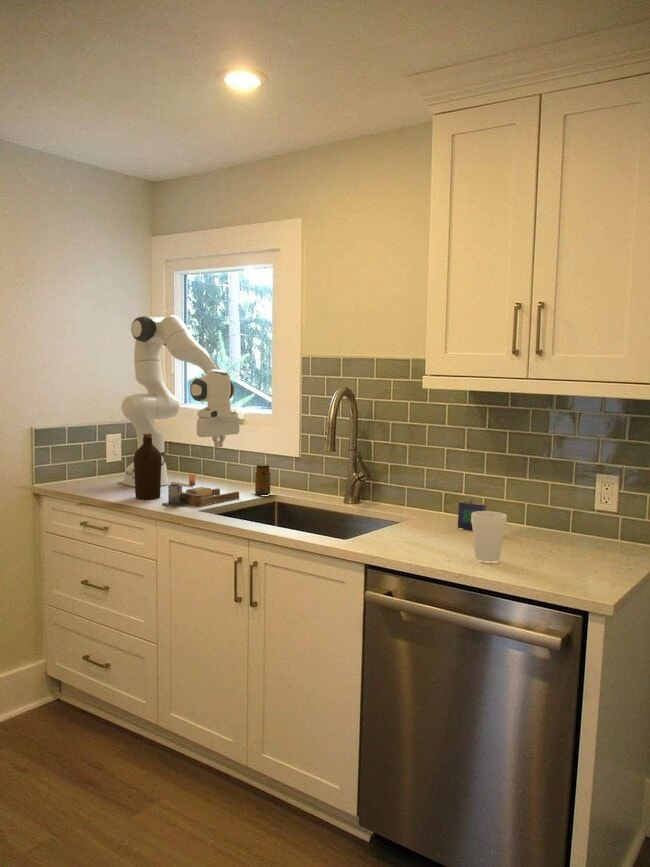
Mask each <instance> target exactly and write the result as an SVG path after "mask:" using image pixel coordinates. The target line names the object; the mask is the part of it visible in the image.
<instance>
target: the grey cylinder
mask: <svg viewBox="0 0 650 867" xmlns="http://www.w3.org/2000/svg"><path fill="white" fill-rule="evenodd" d="M167 486H168V498H167V499H168V501H166V502H162V506H164V505H165V506H166V507H169V506H170V507H169V508H174V507H177V508H181V507H180V506H182V507H185V505H187V506H189V505H188V503H185V502H182V500H183V498H182V492H183V486H179V485H171V484H167ZM165 506H164V507H165Z"/></svg>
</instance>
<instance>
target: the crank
mask: <svg viewBox="0 0 650 867" xmlns="http://www.w3.org/2000/svg"><path fill="white" fill-rule="evenodd" d="M170 485H179V486H182V487H185V488H186V487H187V488H194V486H196V473H189V474H188V483H184V482H180V481H178V480H177V481H175V480H174V481H170Z"/></svg>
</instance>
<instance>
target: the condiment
mask: <svg viewBox="0 0 650 867" xmlns="http://www.w3.org/2000/svg"><path fill="white" fill-rule="evenodd" d="M270 467H271V466H270V465H269V464H264V463H263V464H257V465H256V471H255V477H254V478H255V484H254V486H255V487H254V491H255V492H252V493H250V494H251V495H253V496H258V495H268V494H271V472H270ZM255 494H256V495H255Z"/></svg>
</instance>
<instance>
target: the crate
mask: <svg viewBox="0 0 650 867" xmlns="http://www.w3.org/2000/svg"><path fill="white" fill-rule="evenodd" d="M212 489H213V488H211V487H204V486H200V487H199V486H198V487H191V488H188V489H185V493H191V494H196V495H201V498H205V497H210V496H212Z"/></svg>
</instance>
